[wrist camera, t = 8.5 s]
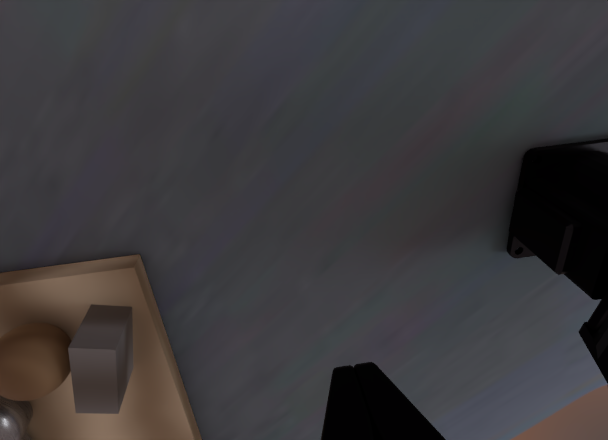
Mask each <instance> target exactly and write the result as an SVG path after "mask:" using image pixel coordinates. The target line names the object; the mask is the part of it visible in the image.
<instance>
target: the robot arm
mask: <svg viewBox="0 0 608 440" xmlns="http://www.w3.org/2000/svg"><path fill="white" fill-rule="evenodd" d="M535 156H537V158H536V160H535V161H533V162H532V160H533V158H534V157H535ZM509 232H510V233H509V239H508V244H507V252H508V253H509V254H510V255H511V256H512V257H513V258H522V257H529V256H537V257H538V258H539V259H541V260H542V261H543V262H544V263H545V264H546V265H547V266H548V267H550V268H551V269H552V270H553V271H554V272H555V273H556V274H558V275H560V274H564V275H565V276H566V277H568V278H569V279H570V280H571V281H572V282H573V283H575V284H576V285H577V286H578V287H579V288H580V289H582V290H583V291H584V292H585V293H586V294H587V295H589V296H590V297H591V298H592V299H594V300H597V299H602V300H601V301H600V303H599V305H598V306H597V308H596V309H595V311H594V312H593V314H592V316H591V317H590V319H589V320H588V322H584V324H583V325H582V327H581V329H580V330H579V334H580V336H581V337H582V339H583V341H584V343H585V344H586V346H587V348H588V350H589V351H590V353H591V355H592V357H593V358H594V360H595V362H596V364H597V365H598V367H599V369H600V371H601V373H602V374H603V376H604V378H605V380H606V381H607V383H608V139H602V140H594V141H586V142H578V143H570V144H562V145H554V146H546V147H538V148H533V149H530V150H529V151H527V152H526V154H525V155H524V158H523V162H522V168H521V173H520V178H519V184H518V189H517V192H516V195H515V201H514V206H513V212H512V217H511V223H510V228H509ZM518 247H519V248H518ZM517 248H518V249H517ZM516 249H517V250H516ZM515 250H516V251H515ZM321 440H446V439H445V438H444V437H443V436H442V435H441V434H440V433H439V432H438V431H437V430H436V429H435V428H434V427H433V426H432V424H431V423H430V422H429V421H428V420H427V419H426V418H425V417H424V416H423V415H422V414H421V413H420V412H419V410H418V409H417V408H416V407H415V406H414V405H413V404H412V403H411V402H410V401H409V400H408V399H407V398H406V396H405V395H404V394H403V393H402V392H401V391H400V390H399V389H398V388H397V387H396V386H395V385H394V384H393V382H392V381H391V380H390V379H389V378H388V377H387V376H386V375H385V374H384V373H383V372H382V371H381V370H380V369H379V367H378V366H377V365H376V364H374V363H372V362H368V363H361V364H356V365H355V366H354V368H353V366H350V365H349V366H342V367H336V368H334V370H333V373H332V378H331V384H330V390H329V396H328V402H327V408H326V413H325V419H324V425H323V431H322V437H321Z"/></svg>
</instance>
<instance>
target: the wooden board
mask: <svg viewBox="0 0 608 440" xmlns="http://www.w3.org/2000/svg"><path fill="white" fill-rule="evenodd" d="M29 323H47V324H51V325H54V326H57V327H59V328H60V329H62V330H63V331H64V332H65V333H66V334H67V335H68V336H69V337H70V339H71V343H70V345H69V347H68V352H69V360H70V369H71V372H70V373H69V375H68V377H67V378H66V380H65V381H64V382H63V383H62V384H61V385H60V386H59V387H58V388H57V389H55V390H54V391H52V392H51V393H49V394H47V395H45V396H43V397H41V398H38V399H34V400H28V401H29V403H30V404H31V406H32V409H33V417H32V419H31V421H30V423H29V425H28V427H27V429H26V431H27V433H28V434H29V436H30V437H31V439H32V440H202V438H201V435H200V432H199V429H198V426H197V423H196V420H195V417H194V414H193V411H192V408H191V405H190V402H189V400H188V397H187V394H186V391H185V388H184V385H183V382H182V379H181V376H180V373H179V370H178V367H177V364H176V361H175V358H174V355H173V352H172V349H171V346H170V343H169V340H168V337H167V334H166V331H165V328H164V325H163V322H162V319H161V316H160V313H159V310H158V307H157V304H156V301H155V298H154V295H153V292H152V289H151V286H150V283H149V280H148V277H147V274H146V271H145V268H144V265H143V262H142V259H141V256H140V254H138V255H130V256H123V257H115V258H108V259H100V260H93V261H85V262H78V263H70V264H63V265H56V266H48V267H41V268H33V269H26V270H18V271H11V272H3V273H0V338H1V337H2V336H3V335H4V334H6V333H7V332H9V331H10V330H12V329H14V328H16V327H19V326H21V325H25V324H29Z"/></svg>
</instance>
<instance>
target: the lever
mask: <svg viewBox="0 0 608 440" xmlns="http://www.w3.org/2000/svg"><path fill="white" fill-rule="evenodd" d="M32 417H33V409H32V406H31V404H30V403H29V401H15V400H10V399H7V398H5V397H3V396H1V395H0V440H32V439H31V437H30V436H29V434H28V433H27V431H26V429H27V427H28V425H29V423H30V421H31V419H32Z"/></svg>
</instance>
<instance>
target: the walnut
mask: <svg viewBox="0 0 608 440" xmlns="http://www.w3.org/2000/svg"><path fill="white" fill-rule="evenodd" d="M70 343H71V339H70V337H69V336H68V335H67V334H66V333H65V332H64V331H63V330H62V329H60V328H59V327H57V326H54V325H51V324H47V323H29V324H25V325H21V326H19V327H16V328H14V329H12V330H10V331H9V332H7V333H6V334H4V335H3V336H2V337H1V338H0V395H1V396H3V397H5V398H7V399H10V400H15V401H28V400H34V399H38V398H41V397H43V396H45V395H47V394H49V393H51V392H52V391H54V390H55V389H57V388H58V387H59V386H60V385H61V384H62V383H63V382H64V381H65V380H66V378H67V377H68V375H69V373H70V372H71V369H70V360H69V352H68V347H69V345H70Z"/></svg>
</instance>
